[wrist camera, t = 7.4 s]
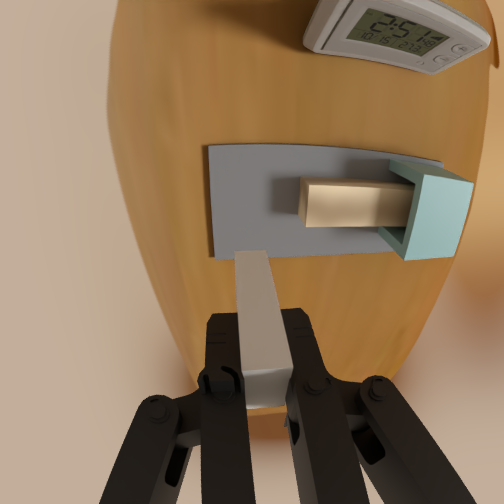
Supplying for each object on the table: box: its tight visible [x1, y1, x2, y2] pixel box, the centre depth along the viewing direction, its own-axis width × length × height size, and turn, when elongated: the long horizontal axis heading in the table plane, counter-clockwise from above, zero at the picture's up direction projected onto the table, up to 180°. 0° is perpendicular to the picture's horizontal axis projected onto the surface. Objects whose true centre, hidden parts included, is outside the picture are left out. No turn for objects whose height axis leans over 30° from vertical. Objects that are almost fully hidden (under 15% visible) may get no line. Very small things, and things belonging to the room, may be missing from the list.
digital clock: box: [303, 0, 491, 75], centre depth 14 cm, size 16×9×11 cm, turn 83°
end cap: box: [378, 159, 474, 260], centre depth 24 cm, size 9×8×6 cm
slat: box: [298, 176, 415, 227], centre depth 25 cm, size 4×14×3 cm, turn 90°
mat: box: [208, 144, 444, 260], centre depth 27 cm, size 12×27×1 cm, turn 90°
